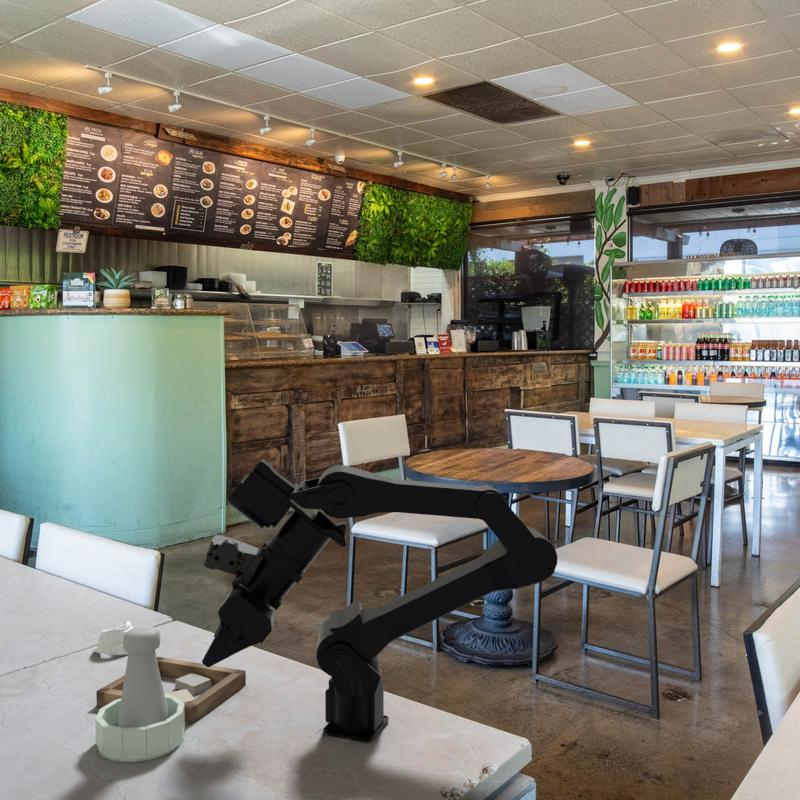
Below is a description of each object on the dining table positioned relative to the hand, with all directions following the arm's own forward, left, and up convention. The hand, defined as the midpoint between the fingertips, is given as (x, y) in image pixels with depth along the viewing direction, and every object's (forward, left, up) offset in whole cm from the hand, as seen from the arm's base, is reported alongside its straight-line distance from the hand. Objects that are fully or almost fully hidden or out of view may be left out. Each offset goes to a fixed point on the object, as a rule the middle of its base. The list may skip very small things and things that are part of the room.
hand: (211, 651), depth 99 cm
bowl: (+7, +5, -10) cm, 13 cm away
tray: (+11, -8, -10) cm, 17 cm away
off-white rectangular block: (+10, -11, -11) cm, 18 cm away
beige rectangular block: (+9, -5, -11) cm, 15 cm away
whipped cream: (+30, -19, -11) cm, 37 cm away
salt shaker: (+7, +5, -10) cm, 13 cm away
